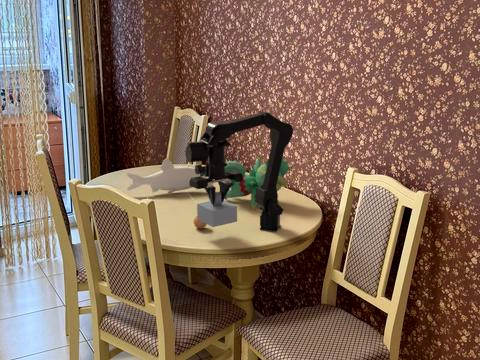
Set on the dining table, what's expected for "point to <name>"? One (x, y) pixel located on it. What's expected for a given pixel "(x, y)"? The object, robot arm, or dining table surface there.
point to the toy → (253, 179)
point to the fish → (166, 178)
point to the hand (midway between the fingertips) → (216, 203)
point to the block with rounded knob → (217, 212)
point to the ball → (199, 223)
